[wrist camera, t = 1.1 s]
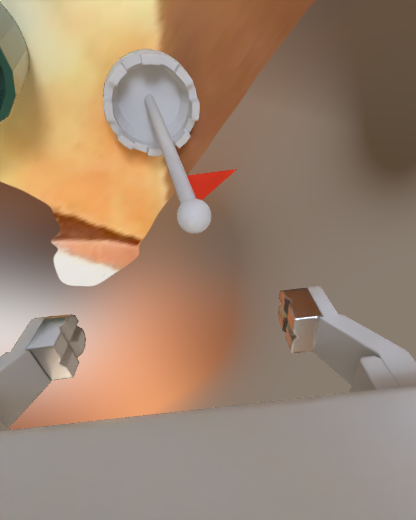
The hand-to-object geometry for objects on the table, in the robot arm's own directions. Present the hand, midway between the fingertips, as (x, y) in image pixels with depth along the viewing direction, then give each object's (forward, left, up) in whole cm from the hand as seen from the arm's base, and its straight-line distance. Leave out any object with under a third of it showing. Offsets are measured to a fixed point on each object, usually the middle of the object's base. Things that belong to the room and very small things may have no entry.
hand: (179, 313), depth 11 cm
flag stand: (+5, -4, -41) cm, 41 cm away
